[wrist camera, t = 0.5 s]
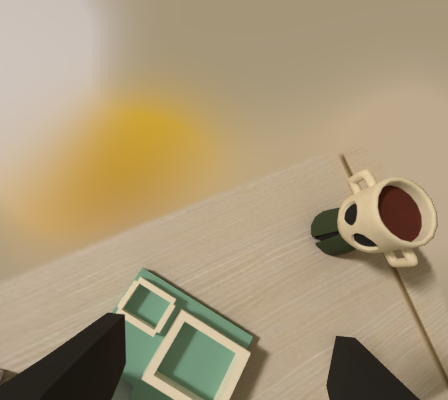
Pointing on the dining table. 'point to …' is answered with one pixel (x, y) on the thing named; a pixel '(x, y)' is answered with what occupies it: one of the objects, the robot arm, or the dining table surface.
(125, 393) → the plug
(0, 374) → the coffee box
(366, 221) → the character mug
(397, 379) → the robot arm
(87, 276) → the dining table surface
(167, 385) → the board
